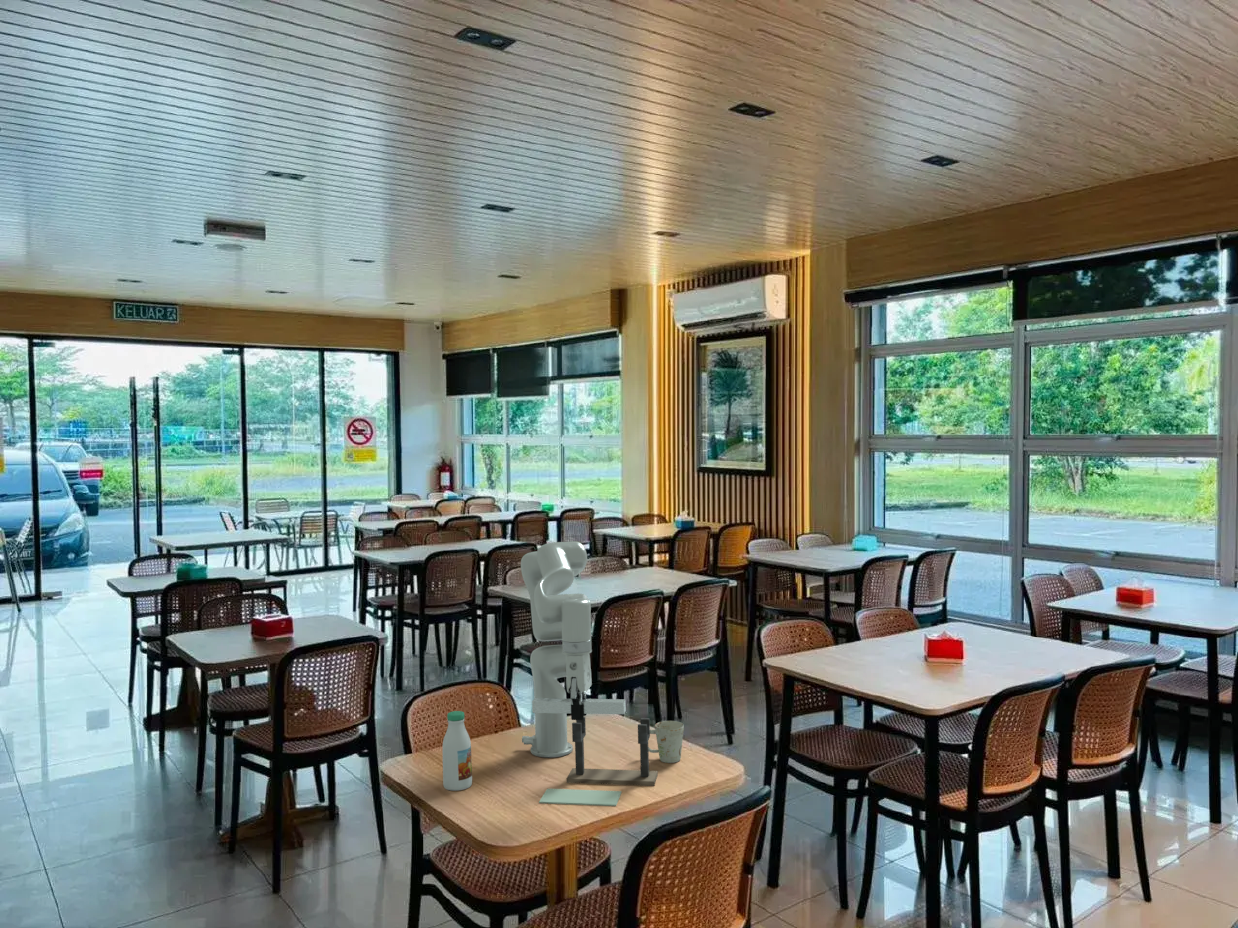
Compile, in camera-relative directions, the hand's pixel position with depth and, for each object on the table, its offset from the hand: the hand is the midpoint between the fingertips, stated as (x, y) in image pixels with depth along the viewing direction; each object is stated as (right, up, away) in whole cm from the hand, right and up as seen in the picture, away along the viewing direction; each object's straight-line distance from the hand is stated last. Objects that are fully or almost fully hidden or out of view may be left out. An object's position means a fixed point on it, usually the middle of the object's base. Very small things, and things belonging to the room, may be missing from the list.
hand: (579, 716), depth 237 cm
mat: (0, -21, +1) cm, 21 cm away
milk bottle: (-33, -22, +11) cm, 41 cm away
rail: (0, +1, 0) cm, 1 cm away
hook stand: (+9, -21, +14) cm, 26 cm away
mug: (+23, -20, +28) cm, 42 cm away
